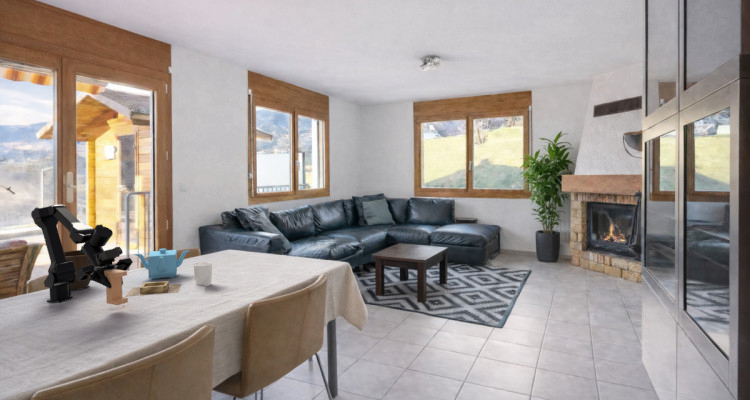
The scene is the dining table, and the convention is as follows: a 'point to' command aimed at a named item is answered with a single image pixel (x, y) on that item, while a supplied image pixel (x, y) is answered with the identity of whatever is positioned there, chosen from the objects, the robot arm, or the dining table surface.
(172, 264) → the teakettle
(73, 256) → the plant pot
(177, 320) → the dining table surface
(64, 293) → the robot arm
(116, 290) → the c link
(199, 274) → the white cup
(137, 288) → the brown tray
